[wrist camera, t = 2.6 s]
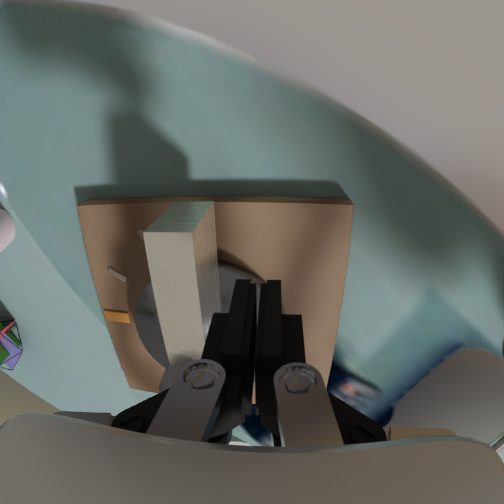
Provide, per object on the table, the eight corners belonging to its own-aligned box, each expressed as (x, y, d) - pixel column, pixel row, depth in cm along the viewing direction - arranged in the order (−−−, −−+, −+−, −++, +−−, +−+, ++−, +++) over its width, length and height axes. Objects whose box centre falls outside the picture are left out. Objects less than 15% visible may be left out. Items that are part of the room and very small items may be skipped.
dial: (283, 379, 27) (281, 448, 20) (156, 368, 28) (130, 429, 22) (292, 195, 20) (297, 243, 13) (118, 197, 21) (57, 239, 14)
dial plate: (349, 198, 21) (354, 206, 20) (321, 393, 30) (322, 406, 28) (87, 200, 23) (75, 206, 22) (134, 378, 32) (129, 389, 30)
